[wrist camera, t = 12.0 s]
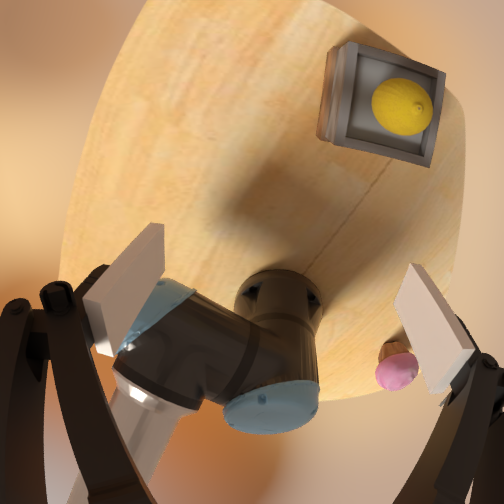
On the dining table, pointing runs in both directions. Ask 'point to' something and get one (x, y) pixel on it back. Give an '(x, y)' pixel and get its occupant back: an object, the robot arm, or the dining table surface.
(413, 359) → the cupcake
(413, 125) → the lemon
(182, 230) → the dining table surface
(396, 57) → the grey storage bin
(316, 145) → the dining table surface
